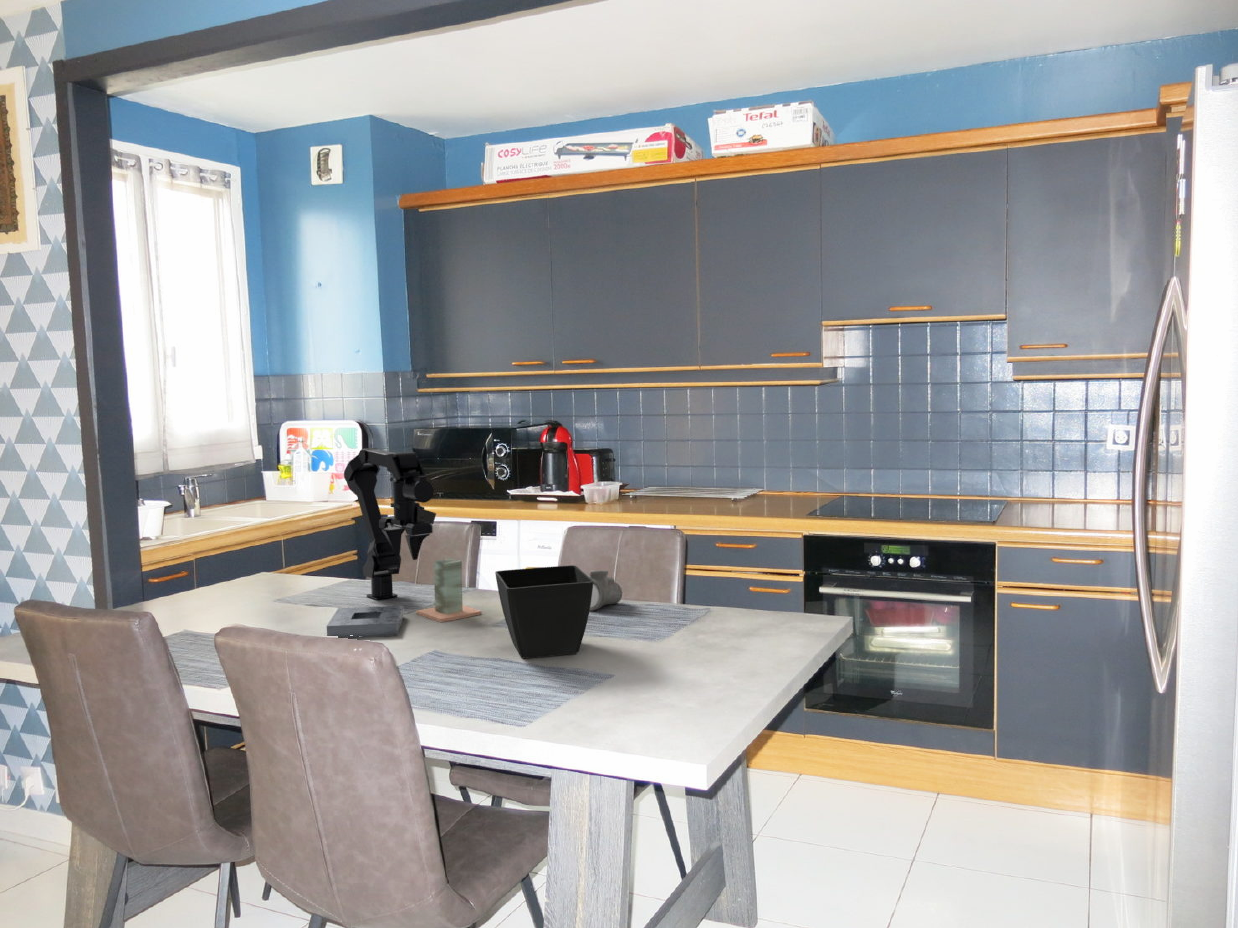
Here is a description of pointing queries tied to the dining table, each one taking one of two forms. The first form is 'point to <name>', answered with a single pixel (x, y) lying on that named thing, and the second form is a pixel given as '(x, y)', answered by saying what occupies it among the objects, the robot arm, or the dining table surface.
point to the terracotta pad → (447, 617)
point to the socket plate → (366, 621)
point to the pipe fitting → (604, 590)
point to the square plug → (448, 586)
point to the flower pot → (545, 608)
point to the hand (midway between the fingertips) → (406, 557)
